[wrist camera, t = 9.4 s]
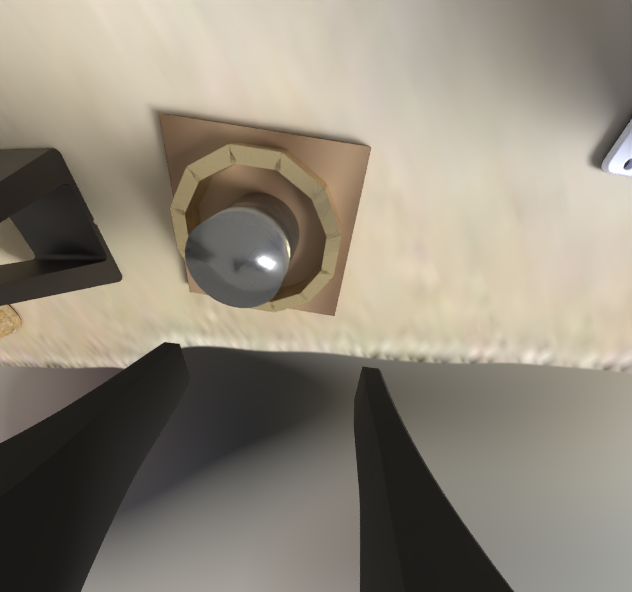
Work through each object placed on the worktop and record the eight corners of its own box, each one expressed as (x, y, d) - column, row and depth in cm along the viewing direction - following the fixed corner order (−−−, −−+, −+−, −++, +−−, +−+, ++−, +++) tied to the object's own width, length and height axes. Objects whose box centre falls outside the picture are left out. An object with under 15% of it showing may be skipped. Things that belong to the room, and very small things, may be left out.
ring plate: (370, 146, 14) (374, 149, 12) (334, 309, 20) (333, 330, 18) (168, 114, 14) (137, 111, 12) (195, 286, 20) (178, 304, 18)
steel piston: (304, 201, 15) (288, 230, 11) (294, 270, 17) (278, 315, 13) (226, 185, 15) (178, 207, 11) (227, 257, 17) (189, 298, 13)
